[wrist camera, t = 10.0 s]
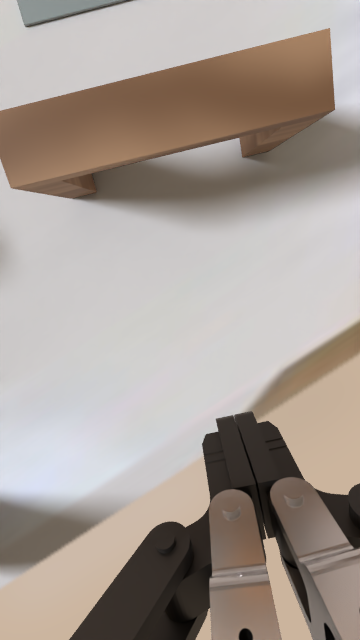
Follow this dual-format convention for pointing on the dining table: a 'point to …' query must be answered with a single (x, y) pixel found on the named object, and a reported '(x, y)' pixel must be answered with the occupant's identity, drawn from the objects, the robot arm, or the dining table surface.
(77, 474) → the dining table surface
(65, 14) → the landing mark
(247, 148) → the bridge
